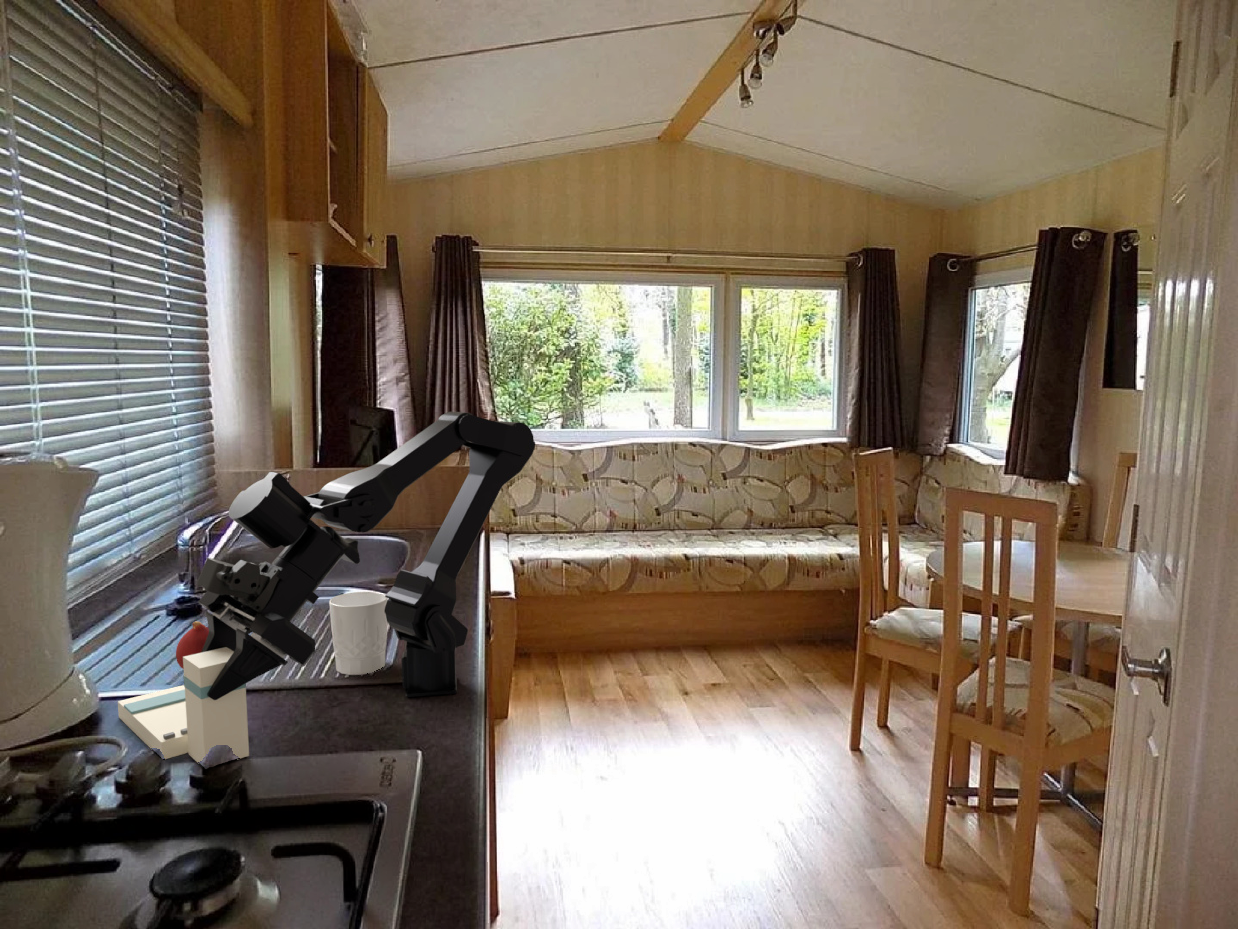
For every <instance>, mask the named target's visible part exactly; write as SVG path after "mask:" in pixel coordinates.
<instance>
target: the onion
mask: <svg viewBox="0 0 1238 929" xmlns="http://www.w3.org/2000/svg"><path fill="white" fill-rule="evenodd" d="M191 625H192V628H191V629H190V630H188V631H187V632H186V633H184V634H183V635H182V637H181V638H180V639H179V641H178V643H177V645H176V649H175V658H176V662H177V664H178V665H179V667H180V668H181V669H183V670H184V668H183V657H184V656H189V655H193V654H197V653H201V651H202V649H203V647H204V644H205V642H206V639H207V637H208V634H209V627H208V626H206V625H205V624H203V623H202V622H200V621H197V620H195V621H193V622H192V624H191Z"/></svg>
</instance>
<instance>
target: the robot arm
mask: <svg viewBox="0 0 1238 929" xmlns="http://www.w3.org/2000/svg"><path fill="white" fill-rule="evenodd" d="M534 438H535V437H534V434H533V431H532V429H531V428H530V427H529V426H528V425H527V424H525V423H524V422H517V421H504V420H503V421H502V420H501V421H500V420H490V419H487V418H482V417H480V416H477V415H474V414H472V413H471V412H464V411H463V412H462V411H446V412H444V414H441V415H440V416H439V417H438V419H437V420H436V421H434V422H433V423H432V424H430V425H429V426H427V427H426V428H425V429H423V430H422V431H420V432H419V433H417V434H416V435H415V436H414V437H412V438H410V439H409V440H408V441H407V442H405V443H403V444H402V445H400V446H399V447H398V448H396V449H395V450H394V451H392V452H391V453H389V454H388V455H387V456H385V457H384V458H382V459H380V460H379V461H378V462H377V463H374V464H372V465H371V466H368V467H365V468H362V469H359V470H355V471H352V472H349V473H347V474H345V475H343V476H340V477H337V478H336V479H334V480H331V481H330V482H328V483H326V484H325V485H324V486H323V487H322V488H321V489H320V490H319V491H318V492H315V493H311V494H308V495H307V494H306V495H302V494H301V493H300V492H299V491H298V490H296V488H294V486H292V485H291V484H290V483H289V480H287V478H286V477H284V476H283V474H281V473H279V472H273V471H269V472H268V474H266V476H265V477H264V478H263V479H260V480H258V481H256V482H254V483H253V484H251V485H250V486H249V487H247V488H246V489H245V490H241V492H239V493H238V495H237V496H236V497H235V498H234V499H233V501H232V503H231V504H230V507H229V509H228V516H229V518H230V519H231V520H233V521H234V522H235V523H237V524H238V525H239V526H240V527H241V528H242V529H244V530H245V531H246V532H247V533H249V534H250V535H251V536H253V537H254V538H255V539H256V540H258V541H259V542H260V543H261V544H263V545H264V546H265V547H266V548H268V549H271V550H272V549H276V548H279V547H282V548H283V549H282V550H281V552H280V553H279V554H278V556H276V558H275V559H274V560H273V561H272V562H271V563H270V562H267V561H263V562H260V563H259V564H256V563H254V562H249V561H245V560H244V559H240V560H238V561H237V562H236V563H235V564H233V563H228V562H225V561H223V560H218V559H215V558H211V557H207V558H206V560H205V561H204V564H203V566H202V569H201V572H200V574H199V576H198V579H197V581H196V584H195V585H196V587H202V588H204V591H206V592H205V593H204V594H203V596H201V598H200V599H199V600H198V601H197V603H198V604H200V606H202V607H204V608H206V609H207V610H205V612H204V617H206V619H207V620H206V621H207V627H208V628H209V634H208V637H207V639H206V642H205V644H204V647H203V649H202V651H201V653H202V652H206V651H211V650H215V649H219V648H224V647H227V648H229V649H230V650H232V651H234V652H233V654H232V655H231V657H230V658H229V660H228V661H227V663H226V665H225V666H224V668H223V669H222V671H221V672H220V674H219V675H218V677H217V678H216V680H215V681H214V683H213V685H212V686H211V688H210V690H209V691H208V693H207V696H208V697H210V698H211V699H213V700H217V699H219V698H221V697H223V696H224V695H226V694H228V693H230V692H231V691H233V690H235V689H237V688H238V687H240V686H242V685H244V684H245V683H246V684H247V683H249V682H251V681H252V680H255V679H256V678H258V677H260V676H262V675H264V674H266V673H268V672H269V671H272V670H274V669H276V668H278V667H280V666H286V665H287V664H288V663H289V661H288V660H286V659H285V657H286V656H289V659H290V660H292V661H293V662H295V663H296V664H299V665H301V666H302V667H305V666H306V665H307V664H308V663H309V661H310V660H311V658H312V657H313V656H314V654H315V653H316V640H315V639H314V638H313V637H311V636H310V635H309V634H308V633H307V632H305V631H303V630H302V629H300V628H299V627H298V626H296V625H295V624H294V623H293V622H292V621H293V620H294V618H295V617H296V616H297V614H298V613H299V612H300V611H301V610H302V608H303V607H304V606H305V604H306V603H310V604H312V605H314V604H315V603H317V601H318V600H319V598H320V596H319V595H318V594H316V593H315V592H316V590H317V589H318V588H319V586H320V585H321V584H322V583H323V581H324V580H325V579H326V578H327V577H328V575H329V574H330V573H331V571H332V570H333V569H334V567H336V565H337V564H338V562H339V561H340V560H343V561H346V562H349V563H352V564H355V565H358V564H360V562H361V558H360V554H359V553H360V552H359V549H358V547H359V541H358V540H357V539H353V538H350V537H347V538H344V537H343V536H342V535H341V534H339V533H338V532H337V531H336V530H335V529H334V528H338V529H341V530H344V531H349V532H354V533H355V532H356V533H368V532H369V531H372V530H373V529H374V528H376V527H377V526H378V525H379V524H380V523H381V521H382V520H384V518H386V517H387V515H388V514H390V512H391V511H392V510H393V508H394V507H395V504H396V501H397V500H398V498H399V496H400V495H401V494H402V493H403V491H405V489H407V488H408V487H410V486H411V485H412V484H414V483H415V482H416V481H418V480H419V479H420V478H421V477H423V476H424V475H426V474H427V473H428V472H429V471H431V470H432V469H434V468H435V467H436V466H437V465H439V464H440V463H442V462H443V461H444V460H445V459H447V458H448V457H449V456H451V455H452V454H453V453H454V452H457V451H458V450H459V449H461V447H464V448H465V447H466V448H469V452H468V456H469V457H468V460H469V471H468V474H467V476H466V478H465V479H464V482H463V483H462V485H461V488H460V490H459V491H458V494H457V495H456V497H455V499H454V501H453V503H452V504H451V507H450V509H449V510H448V512H447V514H446V517H445V519H444V521H443V522H442V523H441V526H440V528H439V530H438V531H437V534H436V536H435V538H434V540H433V542H432V543H431V546H430V548H429V549H428V551H427V554H426V555H425V557H424V559H423V561H422V562H421V564H420V565H419V566H417V567H416V568H414V569H413V570H412V571H411V570H410V571H409V570H406V569H401V570H400V571H399V572H398V574H397V575H396V578H395V580H394V583H393V585H392V587H391V588H390V590H389V591H388V592H387V593H385V597H386V598H388V600H387V603H386V606H385V611H384V613H385V614H386V619H387V625H389V626H390V627H391V629H393V631H395V634H396V638H397V639H398V640H400V641H404V642H406V646H405V648H406V649H405V650H404V651H403V652H402V656H401V677H402V678H401V680H402V681H401V682H402V688H403V689H405V697H406V698H411V697H415V698H416V697H423V696H424V697H426V696H438V695H439V696H440V695H441V696H442V695H451V694H457V693H458V684H457V683H458V682H457V681H458V680H457V671H456V649H457V648H458V647H459V648H460V647H461V646H464V645H465V643H466V640H467V635H468V628H467V627H466V626H465V625H464V624H463V623H462V622H461V621H460V620H459V619H457V618H456V617H455V616H453V612H454V610H455V607H456V605H457V583H456V581H457V578H458V576H459V574H460V571H461V569H462V568H463V566H464V564H465V562H466V559H467V558H468V556H469V553H470V551H471V549H472V548H473V546H474V543H475V542H476V539H477V538H478V536H479V533H480V531H481V530H482V527H483V525H485V524H484V523H485V522H486V519H487V518H488V515H489V514H490V512H491V510H492V507H493V506H494V504H495V501H496V500H497V497H498V496H499V494H500V491H501V490H502V488H503V487H504V485H506V484H507V483H508V482H510V481H511V480H512V479H513V478H514V477H515V476H517V475H518V474H520V473H521V472H522V471H523V469H524V467H525V466H526V464H527V463H528V462H529V460H530V459H531V457H532V456H533V454H534V451H535V448H536V441H535V440H534ZM312 518H313V519H316V520H321V521H322V522H323V523H324V524H326V525H325V526H321V527H320V526H319V525H318V524H316V523H315V522H314V521H313V520H312ZM208 610H209V611H210V612H211V613H210V612H209V611H208Z"/></svg>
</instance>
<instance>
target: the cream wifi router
mask: <svg viewBox="0 0 1238 929" xmlns="http://www.w3.org/2000/svg"><path fill="white" fill-rule="evenodd" d="M117 710H118V718H119V719H120V720H121V721H122V722H123V723H124V724H125V725H126V727H128V728H129V729H130V730H131V731H132V732H133V733H134V734H135V736H137V737H139V738H140V740H141V741H142V742H144V744H145V745H146V746H148V748H150V749H151V748H157V749H160V751H161V752H162V754H163V755H164V758H165V760H167V759H171V758H174V757H178V756H181V755H184V754H189V751H188V734H187V718H186V701H185V687H184V684H183V685H178V686H175V687H171V688H166V689H163V690H162V689H161V690H157V691H155V692H150V693H146V694H142V695H138V696H137V695H136V696H134V697H130V698H126V699H122V700H118V701H117Z"/></svg>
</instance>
